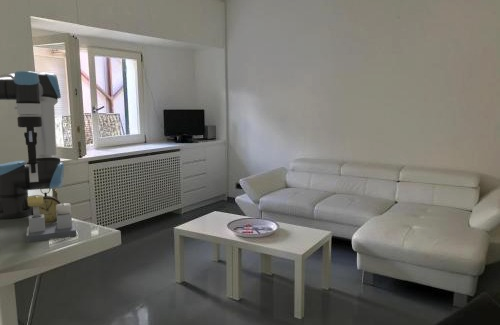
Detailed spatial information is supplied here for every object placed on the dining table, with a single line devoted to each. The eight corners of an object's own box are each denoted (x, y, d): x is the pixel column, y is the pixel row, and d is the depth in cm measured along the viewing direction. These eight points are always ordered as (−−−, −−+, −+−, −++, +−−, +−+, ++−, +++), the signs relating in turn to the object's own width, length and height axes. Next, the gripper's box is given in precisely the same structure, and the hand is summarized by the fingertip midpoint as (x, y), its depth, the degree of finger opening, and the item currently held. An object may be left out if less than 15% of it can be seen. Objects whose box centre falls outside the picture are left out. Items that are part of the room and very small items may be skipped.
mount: (27, 231, 150) (26, 213, 149) (73, 225, 158) (72, 208, 157) (26, 242, 138) (25, 222, 137) (76, 235, 145) (75, 216, 144)
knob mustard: (29, 217, 146) (27, 195, 145) (44, 215, 148) (42, 194, 147) (28, 220, 141) (27, 198, 140) (44, 218, 144) (42, 196, 143)
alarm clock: (32, 229, 153) (29, 188, 151) (32, 225, 158) (29, 185, 155) (63, 225, 158) (61, 185, 156) (62, 222, 163) (60, 183, 161)
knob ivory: (56, 224, 150) (55, 203, 149) (71, 222, 153) (70, 202, 152) (57, 228, 146) (55, 206, 145) (72, 226, 148) (70, 204, 147)
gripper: (18, 116, 144) (23, 179, 147) (16, 116, 132) (21, 185, 135) (41, 115, 147) (45, 178, 150) (41, 115, 136) (46, 183, 139)
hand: (34, 181), depth 143 cm, fingers closed
